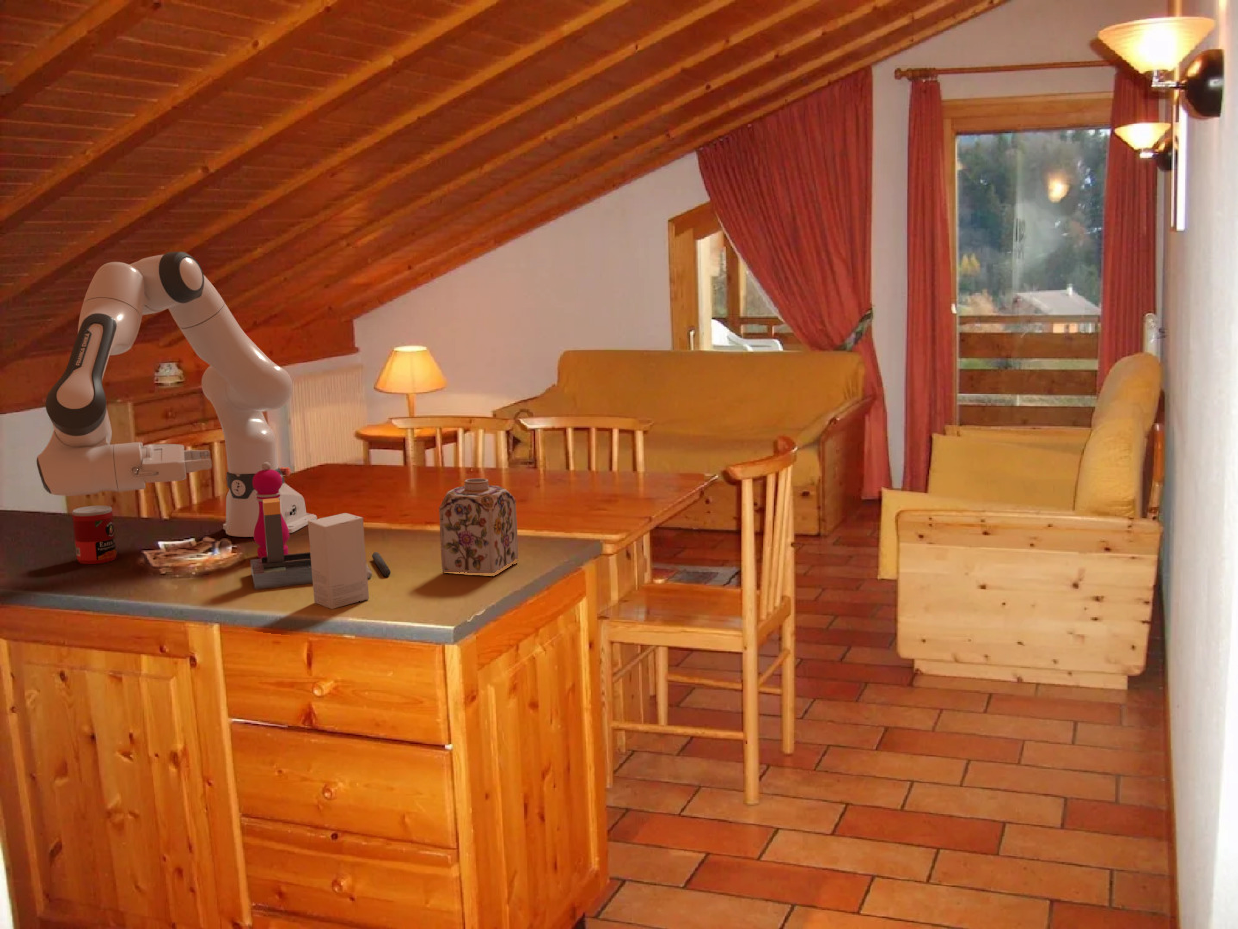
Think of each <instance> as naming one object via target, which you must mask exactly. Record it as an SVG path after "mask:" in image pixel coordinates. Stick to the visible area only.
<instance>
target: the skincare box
mask: <svg viewBox="0 0 1238 929" xmlns="http://www.w3.org/2000/svg"><path fill="white" fill-rule="evenodd" d="M307 528H308V529H307V530H308V540H309V552H310V555H311V567H312V579H313V583H312V589H313V599H314V600H313V602H314V603H315V604H317V605H320V606H322V607H324V608H328V609H330V610H334V609H337V608H340V607H345V606H347V605H351V604H355V603H360V602H364V601H367V600H369V599H370V595H369V594H370V593H369V582H368V578H367V567H366V564H367V556H366V544H365V541H366V540H365V529H364V528H365V527H364V517H362V516H358V515H354V514H352V513H348V512H343V513H339V514H334V515H330V516H326V517H325V516H324V517H321V518H317V519H316V520H310V521H308V524H307ZM359 601H360V602H359Z"/></svg>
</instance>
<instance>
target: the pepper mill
mask: <svg viewBox="0 0 1238 929" xmlns="http://www.w3.org/2000/svg"><path fill="white" fill-rule="evenodd" d="M270 467H271V466H270V464H269V463H268V462H264V463H263V464H262V469H263V470H261V471H259V472H257V473H256V474H255V475H254V477H253V481H252V483H253V487H254V489H255V490H256V491H257V492H258V493H257V494H256V496H257V498H256V500H257V501H258V502H259V516H258V520H257V523H256V526H255V529H254V537H253V540H254V542H255V543H256V544H257V545H258V548H257V557H258V559H261V557H266V556H267V551H266V538H265V525H264V513H263V500H262V499H272V498H279V499H280V498H281V496H280V494H281V492H279V489H280V488H281V486H282V478H281V475H280V474H279V473H278V472H277V471H275V470H271V469H270ZM281 523H282V536H283V549H284V555H286V554H289V546H288V545H286V543H287V542H288V540H289V538H290V533H289V530H288V527H287V524H286V522H285V521H284V519H283V517H282V514H281Z"/></svg>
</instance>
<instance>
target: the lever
mask: <svg viewBox="0 0 1238 929" xmlns="http://www.w3.org/2000/svg"><path fill="white" fill-rule="evenodd" d="M262 500H263V513H264V525H265V538H266V551H267V562H268V563H273V562H283V561H284V549H283V536H282V523H281V510H280V501H279V498H272V499H262Z"/></svg>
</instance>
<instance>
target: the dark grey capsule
mask: <svg viewBox="0 0 1238 929" xmlns="http://www.w3.org/2000/svg"><path fill="white" fill-rule="evenodd" d="M371 558H372V559H373V561H374V563H375V565H376V566H377V567H378V570H380V572H381V574H382V576H384V577H389V576H390V575H391V572H392V571H391V570H390V568H389V566H388V564H387V563H386V562H385V560H384V559H383V557H382V556H381V554H380V552H377V551H375V552H373V553H372V555H371ZM366 567H367V579H371V577H372V576H373V572H372V571H371V569H370V567H369V566H368V563H366Z"/></svg>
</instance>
